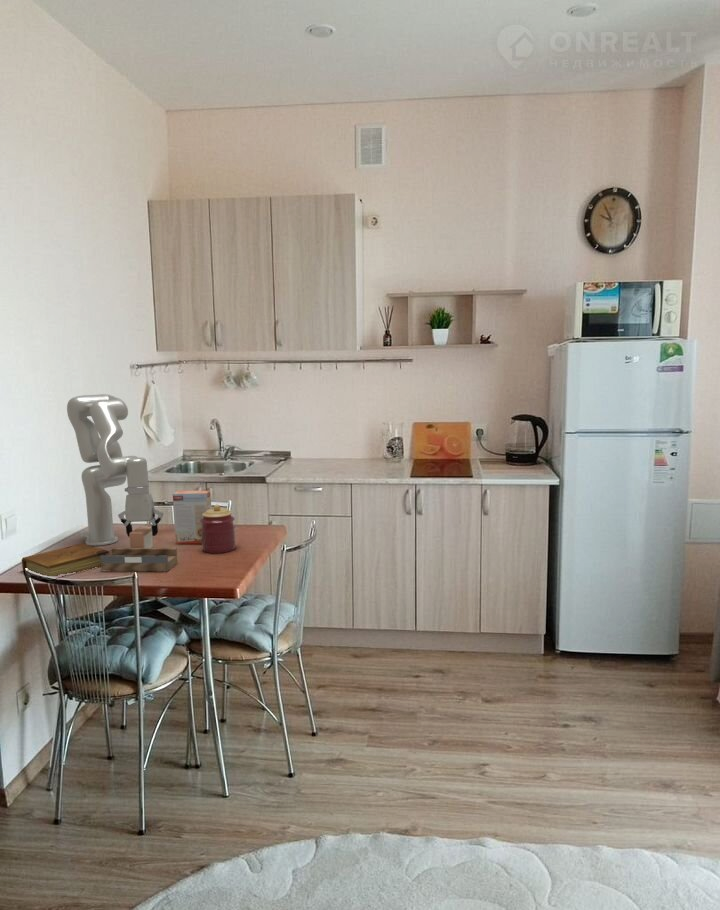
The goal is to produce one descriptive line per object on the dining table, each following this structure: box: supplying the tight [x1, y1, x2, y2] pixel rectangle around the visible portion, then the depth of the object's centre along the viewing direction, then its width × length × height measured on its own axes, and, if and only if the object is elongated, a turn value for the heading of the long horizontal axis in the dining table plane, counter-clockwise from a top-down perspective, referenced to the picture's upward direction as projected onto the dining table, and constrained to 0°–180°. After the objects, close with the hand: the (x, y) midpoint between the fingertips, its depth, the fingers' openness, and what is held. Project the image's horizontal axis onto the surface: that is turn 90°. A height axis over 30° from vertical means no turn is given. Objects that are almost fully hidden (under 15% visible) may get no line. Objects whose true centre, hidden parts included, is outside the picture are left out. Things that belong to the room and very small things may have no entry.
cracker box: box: [172, 490, 212, 545], centre depth 290 cm, size 14×6×21 cm, turn 84°
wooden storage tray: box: [100, 547, 178, 573], centre depth 258 cm, size 24×11×6 cm, turn 85°
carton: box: [129, 526, 155, 548], centre depth 273 cm, size 5×10×10 cm, turn 175°
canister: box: [200, 504, 237, 554], centre depth 279 cm, size 13×13×18 cm
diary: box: [21, 543, 110, 576], centre depth 260 cm, size 23×19×6 cm
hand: (142, 535), depth 272 cm, fingers open, 9 cm apart
